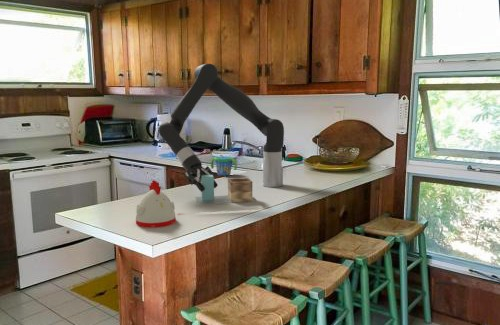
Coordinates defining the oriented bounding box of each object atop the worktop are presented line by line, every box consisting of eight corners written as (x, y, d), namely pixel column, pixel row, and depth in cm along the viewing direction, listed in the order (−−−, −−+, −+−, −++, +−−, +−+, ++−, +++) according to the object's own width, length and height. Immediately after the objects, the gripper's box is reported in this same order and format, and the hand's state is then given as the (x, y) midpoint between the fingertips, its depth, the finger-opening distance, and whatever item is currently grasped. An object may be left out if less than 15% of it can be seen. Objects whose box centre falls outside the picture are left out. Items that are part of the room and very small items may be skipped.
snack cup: (240, 174, 249) (240, 157, 248) (230, 177, 240) (230, 159, 239) (217, 172, 257) (217, 155, 255) (207, 175, 248) (207, 157, 246)
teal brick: (212, 197, 188) (212, 174, 187) (214, 200, 183) (213, 176, 182) (201, 198, 187) (200, 175, 186) (202, 200, 182) (201, 177, 181)
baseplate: (249, 196, 194) (249, 194, 194) (255, 204, 180) (255, 201, 180) (195, 199, 189) (195, 197, 189) (197, 207, 176) (197, 204, 176)
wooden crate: (248, 196, 190) (248, 177, 189) (252, 201, 181) (252, 181, 180) (228, 197, 188) (227, 178, 187) (231, 202, 180) (230, 182, 179)
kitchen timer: (145, 230, 146) (143, 186, 144) (130, 221, 157) (128, 180, 155) (182, 223, 154) (181, 181, 152) (165, 214, 165) (164, 175, 163)
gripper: (181, 156, 181) (203, 186, 176) (204, 152, 193) (225, 180, 188) (173, 167, 185) (194, 197, 180) (195, 163, 196) (215, 191, 192)
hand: (209, 188), depth 184 cm, fingers open, 8 cm apart
